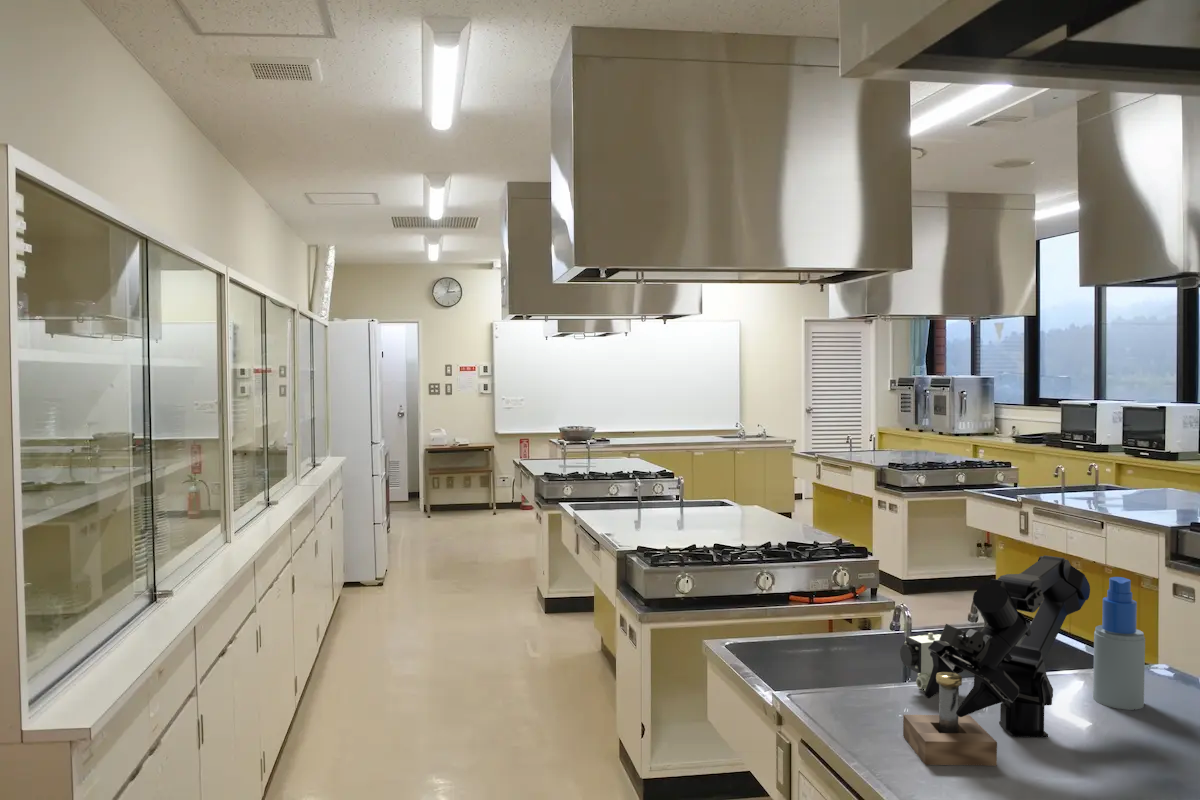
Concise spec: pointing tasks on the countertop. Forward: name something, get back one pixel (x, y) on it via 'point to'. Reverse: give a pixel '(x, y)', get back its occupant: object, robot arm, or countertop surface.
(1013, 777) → the countertop surface
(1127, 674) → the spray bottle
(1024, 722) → the robot arm
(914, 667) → the pneumatic valve
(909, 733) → the socket block
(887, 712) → the countertop surface
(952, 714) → the steel pin
